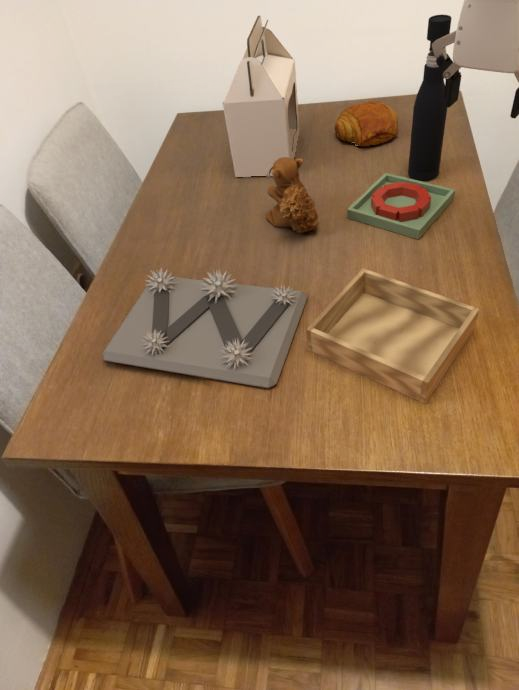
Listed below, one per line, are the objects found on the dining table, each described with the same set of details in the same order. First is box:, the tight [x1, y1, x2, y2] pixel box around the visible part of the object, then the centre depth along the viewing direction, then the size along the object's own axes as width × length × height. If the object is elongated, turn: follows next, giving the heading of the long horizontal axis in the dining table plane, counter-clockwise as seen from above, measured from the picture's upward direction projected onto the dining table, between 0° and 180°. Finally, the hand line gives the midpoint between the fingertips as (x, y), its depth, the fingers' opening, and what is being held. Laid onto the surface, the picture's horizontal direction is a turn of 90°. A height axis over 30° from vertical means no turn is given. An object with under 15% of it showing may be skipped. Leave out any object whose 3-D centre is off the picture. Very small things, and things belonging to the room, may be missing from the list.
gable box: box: [222, 15, 301, 178], centre depth 119 cm, size 22×13×28 cm, turn 172°
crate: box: [305, 267, 480, 404], centre depth 80 cm, size 20×17×5 cm
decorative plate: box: [101, 267, 308, 389], centre depth 87 cm, size 30×22×7 cm
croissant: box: [334, 100, 399, 147], centre depth 127 cm, size 14×16×8 cm
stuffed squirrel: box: [264, 157, 320, 234], centre depth 103 cm, size 10×14×13 cm
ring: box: [371, 182, 431, 222], centre depth 105 cm, size 11×11×2 cm
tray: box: [346, 172, 457, 240], centre depth 106 cm, size 16×16×2 cm
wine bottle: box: [407, 14, 452, 182], centre depth 103 cm, size 6×6×30 cm
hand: (482, 108), depth 77 cm, fingers open, 9 cm apart
